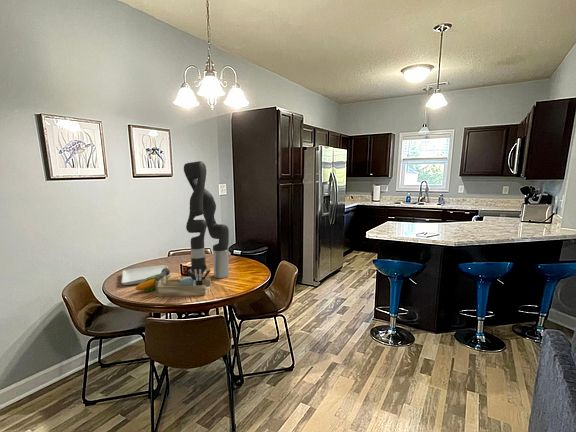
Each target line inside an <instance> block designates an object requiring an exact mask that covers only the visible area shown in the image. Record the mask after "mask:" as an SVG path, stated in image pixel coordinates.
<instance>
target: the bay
mask: <svg viewBox="0 0 576 432" xmlns="http://www.w3.org/2000/svg"><path fill="white" fill-rule="evenodd" d="M170 273H171V271H170V269H169V267H168V268H164V269H163V270H162V273H160V274H159V275H158V276H156V277H155V280H156V281H155V283H156V289H155V296H156V297H174V296H176V297H177V296H179V297H181V296H187V297H188V296H189V297H190V296H206V295H207V294H208V292H209V291H210V289H211V287H212V280H211V279H212V278H205V279H204V280H202V285H198V286H197V281H196V280H195V284H196V286H180V283H179V281H180V280H181V279H182V278H180V279H179V278H175V279H173V278H170V279H169V278H168V279H167V275H169V274H170Z"/></svg>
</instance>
